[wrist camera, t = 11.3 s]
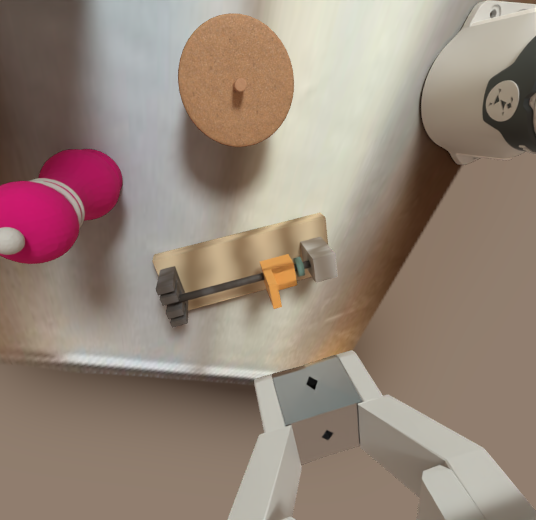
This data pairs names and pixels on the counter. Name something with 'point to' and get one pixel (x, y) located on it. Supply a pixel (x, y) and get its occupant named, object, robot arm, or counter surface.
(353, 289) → the counter surface
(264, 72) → the lidded jar
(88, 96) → the counter surface
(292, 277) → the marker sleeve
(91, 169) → the pepper mill
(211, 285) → the cord board
